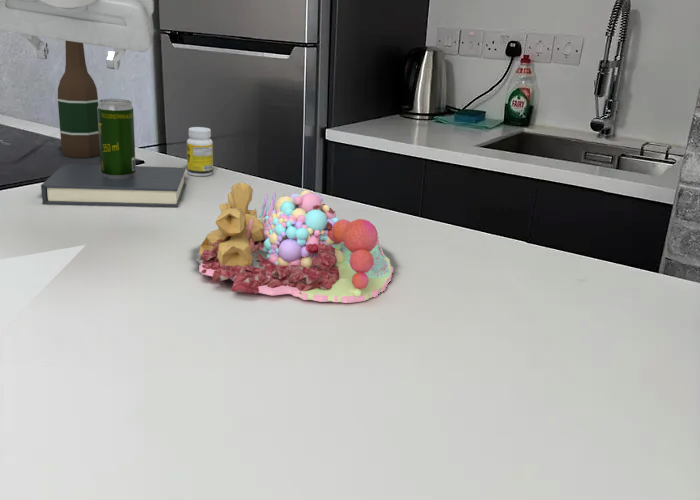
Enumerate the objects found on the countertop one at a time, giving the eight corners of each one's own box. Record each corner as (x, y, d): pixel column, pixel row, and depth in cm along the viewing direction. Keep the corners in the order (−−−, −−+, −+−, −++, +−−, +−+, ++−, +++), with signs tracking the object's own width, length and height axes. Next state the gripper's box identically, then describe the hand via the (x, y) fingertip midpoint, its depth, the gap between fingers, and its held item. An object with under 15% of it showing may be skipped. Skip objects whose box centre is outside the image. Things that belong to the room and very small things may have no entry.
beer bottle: (54, 151, 136) (44, 25, 128) (93, 148, 141) (85, 27, 133) (69, 159, 131) (59, 28, 123) (109, 156, 136) (102, 30, 128)
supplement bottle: (188, 170, 130) (188, 125, 127) (214, 171, 130) (214, 127, 127) (185, 176, 125) (185, 130, 122) (211, 177, 126) (211, 131, 123)
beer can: (136, 171, 114) (133, 99, 110) (135, 179, 109) (132, 104, 105) (102, 171, 113) (98, 98, 109) (99, 179, 108) (95, 103, 104)
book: (42, 204, 104) (40, 185, 103) (65, 180, 117) (64, 163, 116) (177, 207, 107) (177, 188, 106) (185, 184, 120) (185, 167, 119)
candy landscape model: (178, 297, 76) (176, 218, 72) (211, 230, 98) (211, 167, 95) (401, 308, 77) (409, 230, 74) (384, 239, 99) (390, 177, 96)
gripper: (157, -28, 86) (159, 56, 97) (-18, -58, 82) (5, 33, 93) (149, 4, 82) (152, 88, 94) (-33, -26, 79) (-7, 65, 90)
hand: (78, 60), depth 94 cm, fingers open, 8 cm apart
